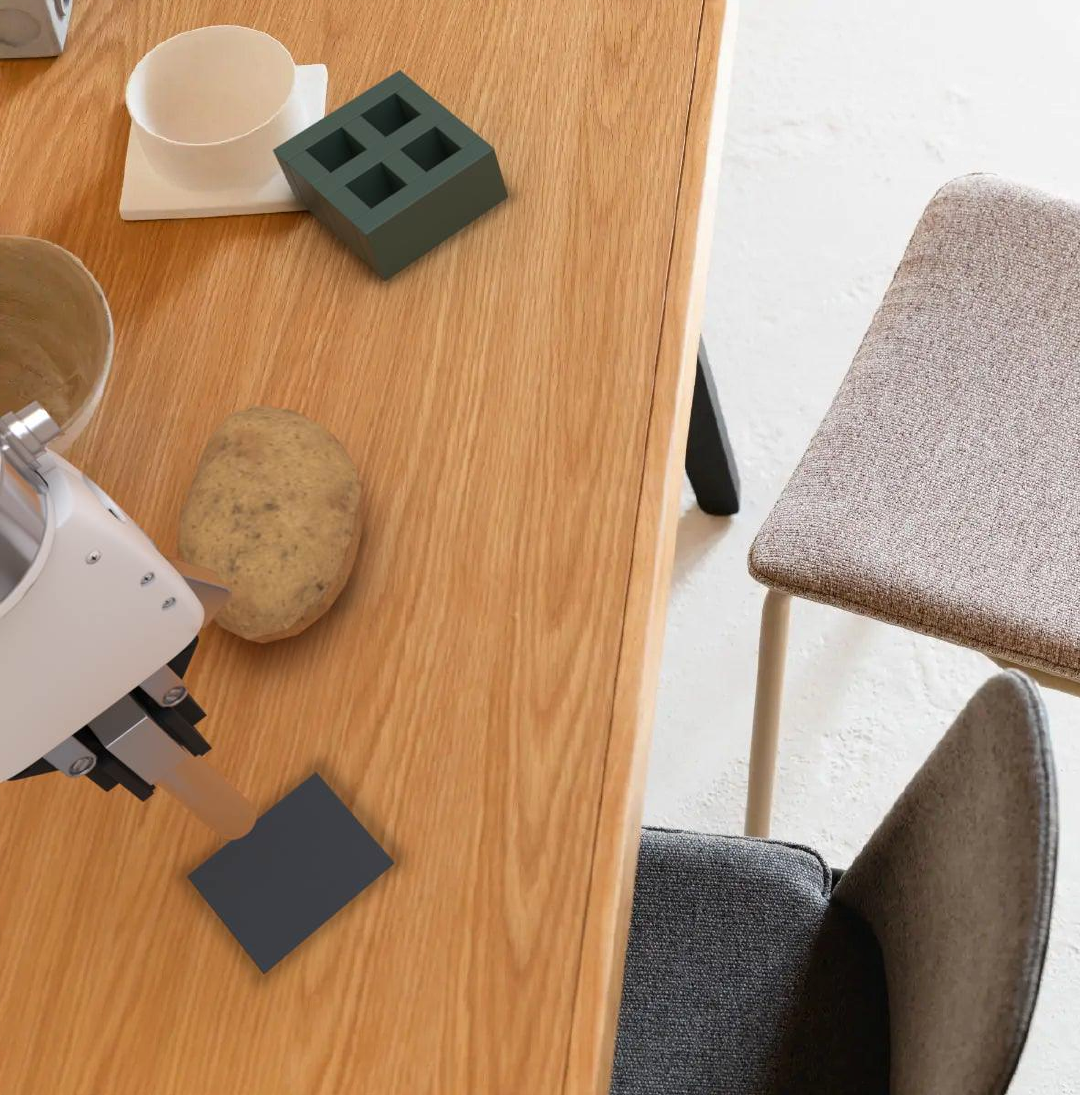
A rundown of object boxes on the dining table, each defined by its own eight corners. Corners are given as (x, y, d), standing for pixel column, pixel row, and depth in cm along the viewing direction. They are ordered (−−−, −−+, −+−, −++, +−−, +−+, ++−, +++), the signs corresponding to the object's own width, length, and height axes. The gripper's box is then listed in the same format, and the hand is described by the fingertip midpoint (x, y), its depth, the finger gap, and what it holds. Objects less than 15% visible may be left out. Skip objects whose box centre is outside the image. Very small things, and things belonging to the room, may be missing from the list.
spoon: (193, 805, 68) (48, 680, 56) (229, 776, 69) (94, 647, 56) (241, 864, 67) (103, 750, 54) (278, 834, 67) (149, 715, 55)
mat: (190, 879, 75) (186, 876, 75) (319, 775, 78) (315, 771, 77) (268, 977, 73) (263, 974, 72) (397, 866, 75) (394, 862, 75)
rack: (297, 203, 98) (272, 149, 93) (419, 125, 101) (399, 69, 97) (387, 287, 94) (365, 234, 90) (510, 202, 98) (494, 148, 93)
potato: (200, 686, 81) (139, 621, 74) (222, 472, 87) (168, 394, 80) (378, 666, 81) (334, 600, 74) (386, 455, 88) (346, 376, 81)
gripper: (74, 310, 48) (269, 575, 64) (-402, 615, 43) (-60, 821, 59) (198, 443, 46) (369, 685, 62) (-294, 786, 40) (34, 953, 56)
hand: (158, 750), depth 60 cm, fingers closed on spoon, 2 cm apart
